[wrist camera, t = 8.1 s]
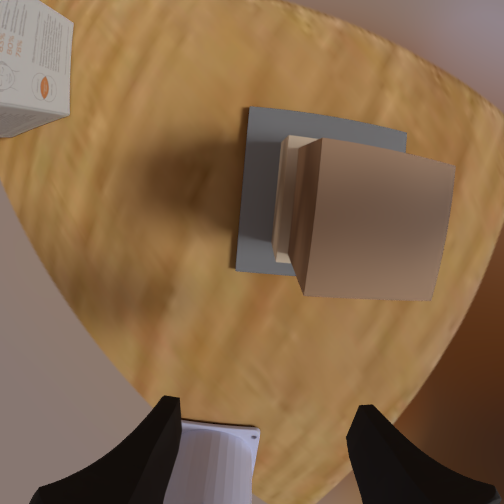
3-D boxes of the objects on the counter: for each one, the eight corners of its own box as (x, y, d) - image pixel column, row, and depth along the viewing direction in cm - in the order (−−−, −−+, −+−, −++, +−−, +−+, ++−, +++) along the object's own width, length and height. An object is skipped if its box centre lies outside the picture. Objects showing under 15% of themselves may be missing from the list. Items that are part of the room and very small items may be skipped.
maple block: (364, 251, 19) (389, 271, 15) (271, 242, 19) (275, 262, 15) (377, 157, 17) (406, 155, 13) (281, 142, 17) (289, 135, 13)
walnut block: (382, 261, 15) (431, 300, 10) (287, 254, 15) (303, 295, 10) (397, 163, 13) (455, 166, 9) (298, 148, 13) (322, 137, 9)
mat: (383, 280, 20) (385, 282, 19) (235, 269, 20) (235, 271, 19) (404, 133, 17) (406, 132, 17) (249, 107, 17) (249, 106, 17)
